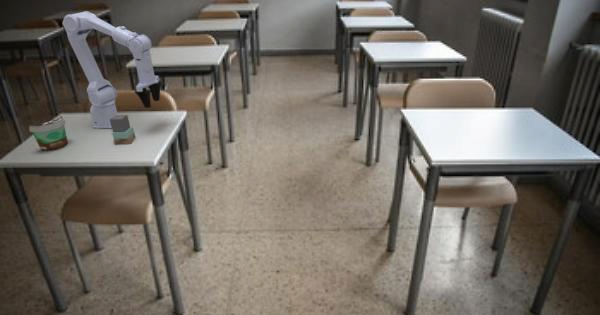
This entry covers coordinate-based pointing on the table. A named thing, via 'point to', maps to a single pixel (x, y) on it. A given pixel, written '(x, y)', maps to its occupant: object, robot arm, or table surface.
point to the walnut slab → (124, 140)
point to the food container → (50, 134)
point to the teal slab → (123, 134)
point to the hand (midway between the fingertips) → (152, 103)
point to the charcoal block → (120, 123)
